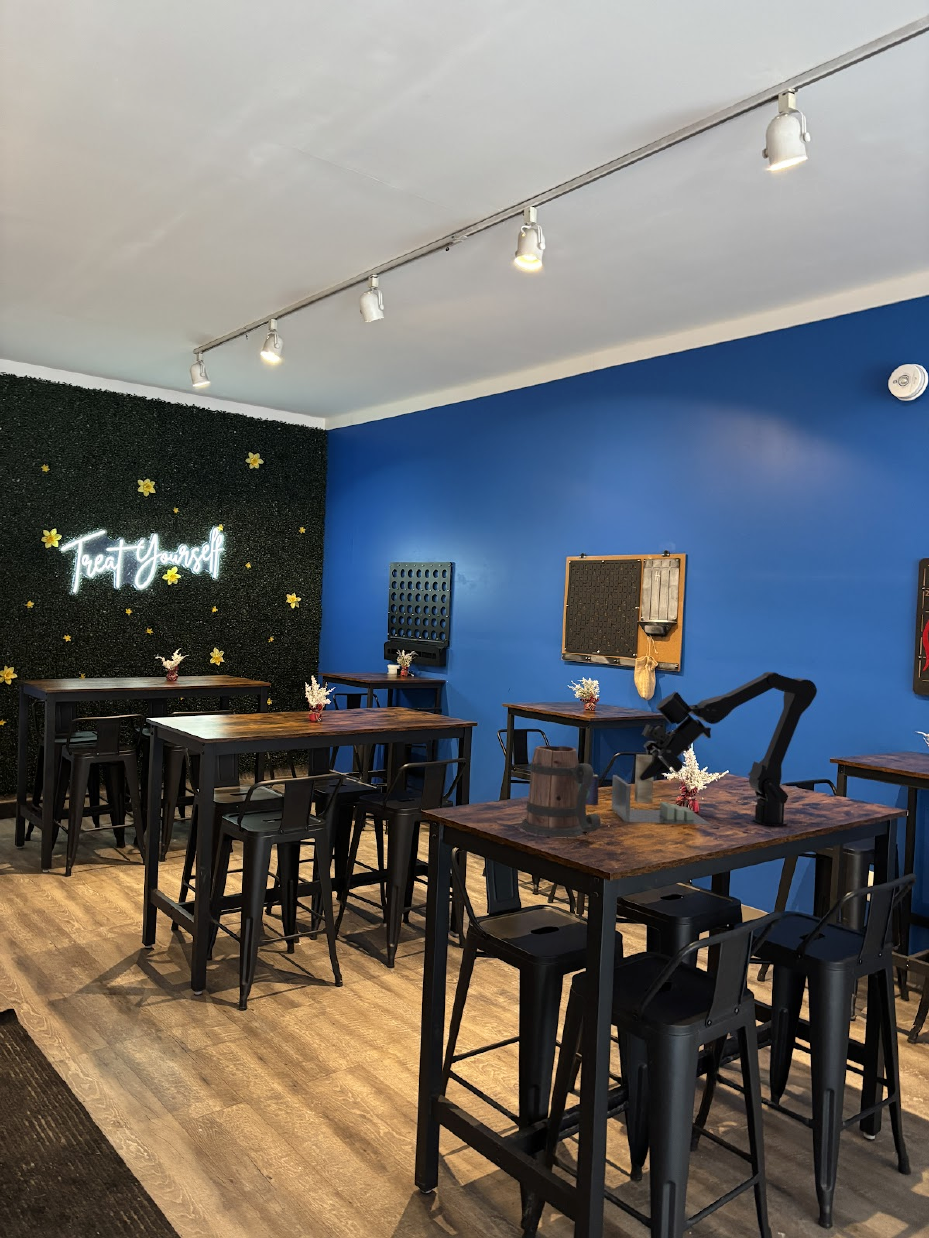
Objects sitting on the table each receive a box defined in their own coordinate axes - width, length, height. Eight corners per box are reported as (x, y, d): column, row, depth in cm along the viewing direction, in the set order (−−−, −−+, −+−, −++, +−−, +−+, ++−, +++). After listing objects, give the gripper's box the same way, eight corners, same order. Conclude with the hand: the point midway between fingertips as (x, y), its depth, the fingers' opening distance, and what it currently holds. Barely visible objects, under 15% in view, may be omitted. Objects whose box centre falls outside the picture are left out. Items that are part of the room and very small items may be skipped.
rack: (691, 814, 251) (693, 777, 251) (711, 828, 235) (712, 788, 235) (611, 812, 249) (612, 775, 249) (625, 825, 233) (626, 785, 233)
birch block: (649, 800, 243) (651, 754, 243) (652, 802, 240) (654, 756, 240) (634, 800, 243) (636, 754, 243) (637, 802, 240) (639, 756, 240)
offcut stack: (685, 814, 246) (686, 802, 246) (693, 820, 239) (694, 808, 239) (659, 813, 245) (660, 802, 245) (667, 819, 238) (667, 807, 238)
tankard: (503, 826, 226) (506, 744, 226) (554, 820, 236) (558, 741, 236) (569, 848, 207) (573, 758, 207) (622, 840, 217) (626, 754, 217)
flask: (563, 805, 257) (565, 766, 257) (567, 803, 259) (569, 764, 259) (596, 809, 253) (598, 769, 253) (599, 807, 255) (601, 768, 255)
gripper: (652, 710, 251) (610, 750, 251) (672, 718, 233) (626, 761, 232) (680, 741, 252) (638, 780, 251) (701, 750, 233) (656, 793, 232)
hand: (639, 778), depth 242 cm, fingers closed on birch block, 3 cm apart
